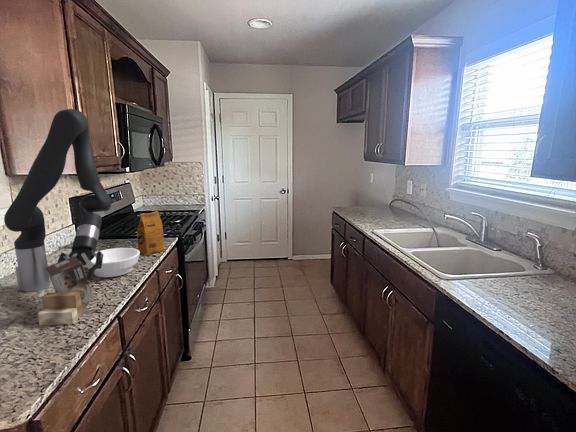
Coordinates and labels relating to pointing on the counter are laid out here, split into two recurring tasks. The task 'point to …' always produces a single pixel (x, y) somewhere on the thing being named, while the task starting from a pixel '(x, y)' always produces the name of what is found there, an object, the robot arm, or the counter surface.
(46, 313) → the batten
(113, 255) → the bowl
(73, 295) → the block
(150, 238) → the coffee package
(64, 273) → the coffee box
